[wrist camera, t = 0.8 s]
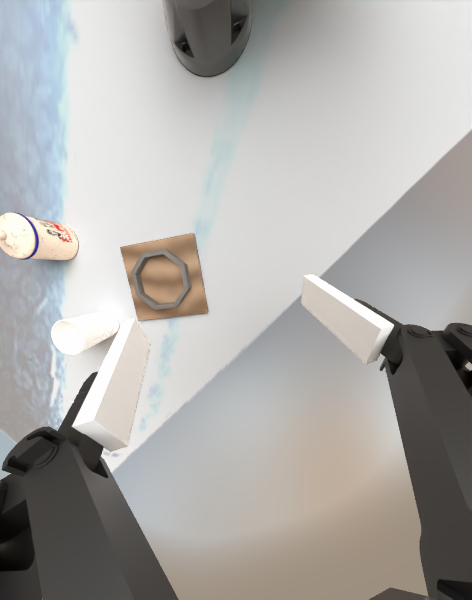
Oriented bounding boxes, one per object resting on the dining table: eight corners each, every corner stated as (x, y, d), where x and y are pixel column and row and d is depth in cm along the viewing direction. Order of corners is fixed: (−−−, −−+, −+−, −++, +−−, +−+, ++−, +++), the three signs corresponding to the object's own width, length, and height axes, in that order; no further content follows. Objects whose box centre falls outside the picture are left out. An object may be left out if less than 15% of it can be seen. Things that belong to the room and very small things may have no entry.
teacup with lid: (86, 240, 42) (23, 229, 31) (70, 268, 44) (5, 268, 33) (48, 207, 42) (-29, 185, 31) (34, 237, 44) (-44, 227, 33)
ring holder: (124, 247, 42) (113, 246, 39) (194, 234, 39) (189, 231, 36) (141, 319, 44) (133, 322, 41) (208, 311, 42) (204, 314, 39)
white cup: (91, 309, 46) (46, 320, 36) (118, 308, 45) (79, 319, 35) (98, 337, 47) (56, 355, 37) (124, 336, 46) (87, 355, 36)
